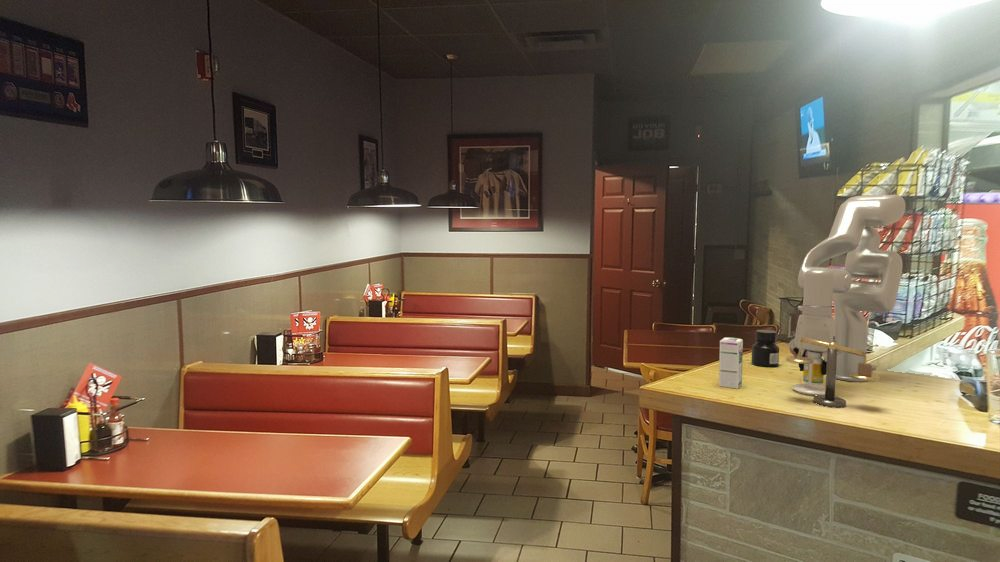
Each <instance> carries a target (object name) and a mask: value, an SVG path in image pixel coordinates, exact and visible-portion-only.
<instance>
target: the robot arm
mask: <svg viewBox="0 0 1000 562" xmlns="http://www.w3.org/2000/svg"><path fill="white" fill-rule="evenodd" d="M905 212H906V201H905V199H904V198H903V197H902V195H900V194H869V195H868V194H867V195H855V196H852V197H849V198H847V199H846V200H845V201H844V202H843V203H841V205H840V206H839V208H838V210H837V213H836V216H835V218H834V221H833V224H832V227H831V229H830V232H829V235H828V237H827V238H825V239H824V240H822V241H821V242H819V243H818V244H817V245H815V246H814V247H812V248H811V249H810V250H809V251H808V252H807V254H806V255H805V256H804V258H803V261H802V264H801V265H800V269H799V271H798V276H797V284H798V286H799V287H800V289H802V290H803V300H802V301H803V302H802V303H803V304H802V305H798V306H797V310H798V311H800V312H801V314H799V315H798V318H797V319H798V320H797V323H796V328H795V329H796V330H795V335H794V338H793V340H792V339H791V340H792V341H791V340H790V341H789V342H788V344H787V345H788V347H789V346H790V347H791V348H792V349H793V350H794V352H795V353H796V354H797V355H798V356H799V346H800V341H801V337H806V338H810V339H814V340H818V341H822V342H827V343H830V342H835V343H837V345H839V346H844V347H848V348H852V349H856V350H860V351H865V352H866V353H867V350H868V349H867V347H868V332H869V331H868V330H869V324H868V321H867V319H866V317H865V316H864V315H863V313H862V312H868V313H881V314H885V313H886V314H887V313H890V312H891V311H892V310H893V309H894V308H895V305H896V302H897V299H898V292H899V288H900V284H901V279H902V273H903V268H904V267H903V264H904V263H903V259H902V256H901V255H900V254H899V252H898V251H897V252H896V251H894V250H882V249H881V250H880V245H881V239H882V238H881V235H880V233H879V232H878V230H877V229H876V228H875V227H888V226H890V225H893V224H896V223H898V222H899V221H900V220H901V219H902V218H903V216H905V215H904V214H905ZM845 254H846V258H845V263H844V268H840V267H838V268H837V267H825V266H824V267H823V266H820V265H821V264H822V263H824V262H825V261H827V260H830V259H832V258H836V257H838V256H842V255H845ZM854 279H858V280H854ZM867 280H870V281H867ZM871 280H872V281H871ZM873 280H874V281H873ZM833 310H834V311H833ZM832 311H833V312H832ZM832 313H834V317H833V316H832V315H833V314H832ZM827 349H828V348H826V347H822V346H817V345H813V344H809V343H805V342H802V345H801V357H806V352H807V350H812V351H819V352H822V354H823V356H822V357H823V360H824V361H823V362H822V372H821V374H822V375H824V376H826V367H827ZM865 357H867V355H866V356H865ZM858 363H864V357H863V356H859V355H855V354H851V353H847V352H842V351H838V350H837V366H836V380H840V381H846V382H859V383H860V382H863V383H864V382H868V381H867V380H859V379H855V378H852V377H850V376H849V374H850V373H852V372H858ZM871 365H872V372H873V371H875V372H876V370H877V366H876V365H875V364H871ZM798 368H799V371H800V372H803V371H804V364H800V363H798Z"/></svg>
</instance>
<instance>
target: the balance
mask: <svg viewBox="0 0 1000 562" xmlns="http://www.w3.org/2000/svg"><path fill="white" fill-rule="evenodd" d="M802 342H805V343H809V344H813V345H817V346H822V347H826V348H828V349H827V367H826V375H825V385H824V386H825V395H818V396H812V397H813V400H812V401H813V404H815V403H817V404H819V405H818V406H820V405H823V406H822V407H825V406H828V407H827V408H832V407H836V408H837V409H838V408H839V409H840V408H841V407H842V408H845V406H847V400H846V399H844V398H841V397H838V396H836V384H837V383H836V381H837V379H836V366H837V350H838V351H842V352H847V353H851V354H855V355H859V356H863V357H864V363H858V372H852V373H850V374H849V376H850V377H852V378H855V379H859V380H867V381H866V382H872V381H873V382H874V381H880V378H881V377H880V376H879V375H878V374H874V373H872V372H873V371H872V365H873V364H871V363H867V360H868V359H867V358H868V357H867V352H865V351H860V350H856V349H852V348H848V347H844V346H839V345H837V343H835V342H830V343H827V342H822V341H818V340H814V339H810V338H806V337H801V341H800V346H799V356H794V355H790V356H786V358H785V361H786V362H789V363H793V364H799V363H800V364H811V363H814V360H813V359H811V358H807V357H801V345H802ZM865 356H866V357H865ZM817 404H816V405H817ZM836 408H835V409H836Z"/></svg>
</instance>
